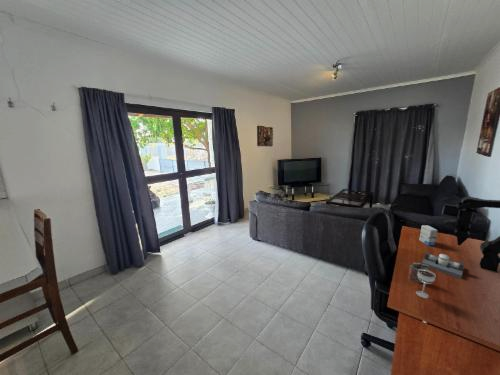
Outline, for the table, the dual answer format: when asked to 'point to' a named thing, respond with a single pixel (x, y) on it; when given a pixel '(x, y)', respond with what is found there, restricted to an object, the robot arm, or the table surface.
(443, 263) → the coupler
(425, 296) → the wineglass
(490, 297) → the table surface
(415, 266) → the grey box
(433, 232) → the ink box
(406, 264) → the table surface
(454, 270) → the shaft mount
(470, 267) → the table surface
